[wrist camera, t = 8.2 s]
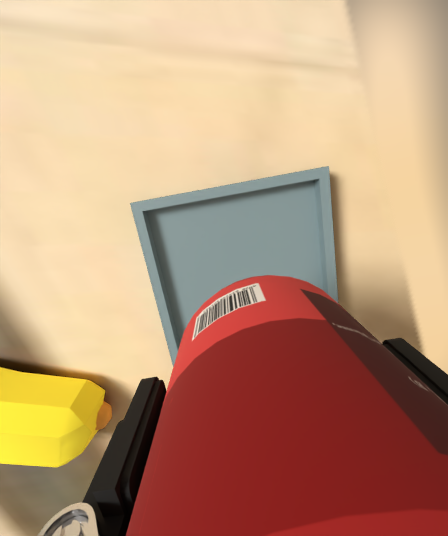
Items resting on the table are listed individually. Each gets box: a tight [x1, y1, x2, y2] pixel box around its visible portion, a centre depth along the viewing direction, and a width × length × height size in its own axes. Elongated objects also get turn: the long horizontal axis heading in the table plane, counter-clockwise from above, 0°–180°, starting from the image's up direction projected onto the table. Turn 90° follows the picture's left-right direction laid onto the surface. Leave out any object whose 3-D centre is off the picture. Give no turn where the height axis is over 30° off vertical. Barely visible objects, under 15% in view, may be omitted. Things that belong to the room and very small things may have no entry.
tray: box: [130, 166, 338, 367], centre depth 24 cm, size 16×16×2 cm
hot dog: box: [0, 367, 112, 467], centre depth 26 cm, size 18×7×8 cm
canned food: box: [126, 275, 448, 536], centre depth 7 cm, size 8×8×11 cm
